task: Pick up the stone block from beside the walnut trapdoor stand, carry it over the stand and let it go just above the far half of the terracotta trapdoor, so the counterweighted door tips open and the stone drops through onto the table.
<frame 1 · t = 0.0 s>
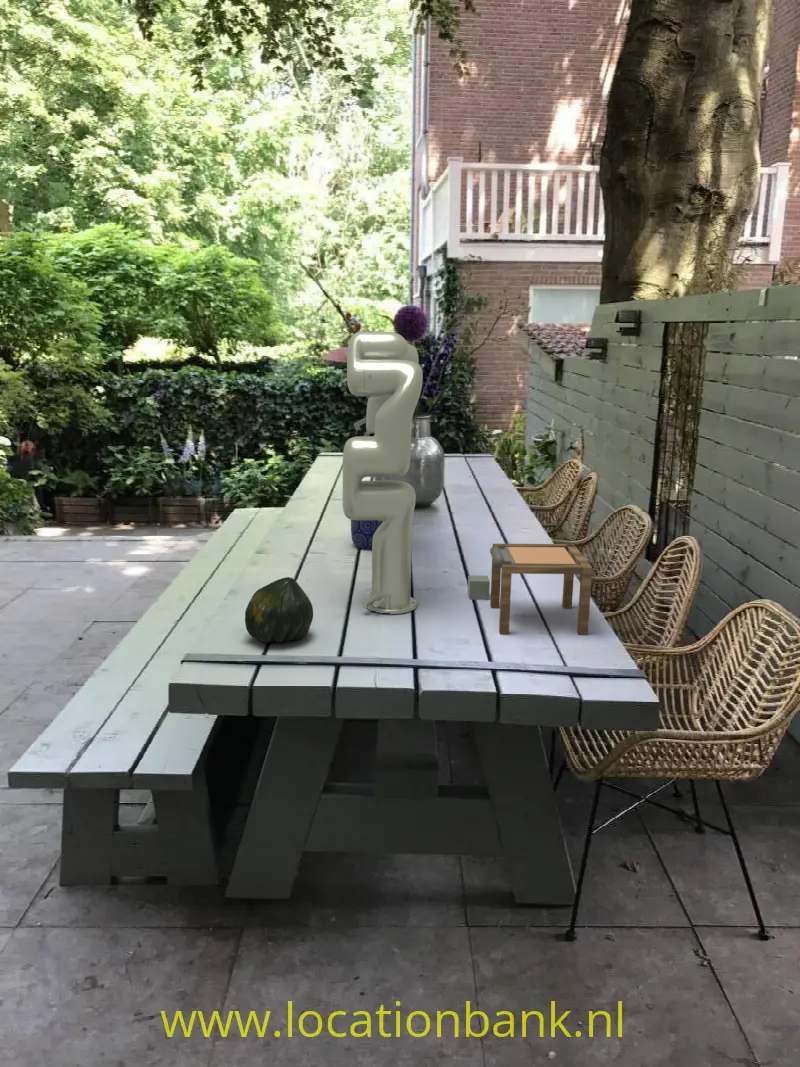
hand: (383, 452, 250), 31 cm above the table, tool pointing down, fingers open, 9 cm apart
trapdoor: (531, 557, 203), point 16 cm above the table, hinge at 0.0°
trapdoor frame: (536, 619, 207), on the table
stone: (478, 596, 223), on the table
squash: (280, 638, 194), on the table
planter: (368, 547, 268), on the table
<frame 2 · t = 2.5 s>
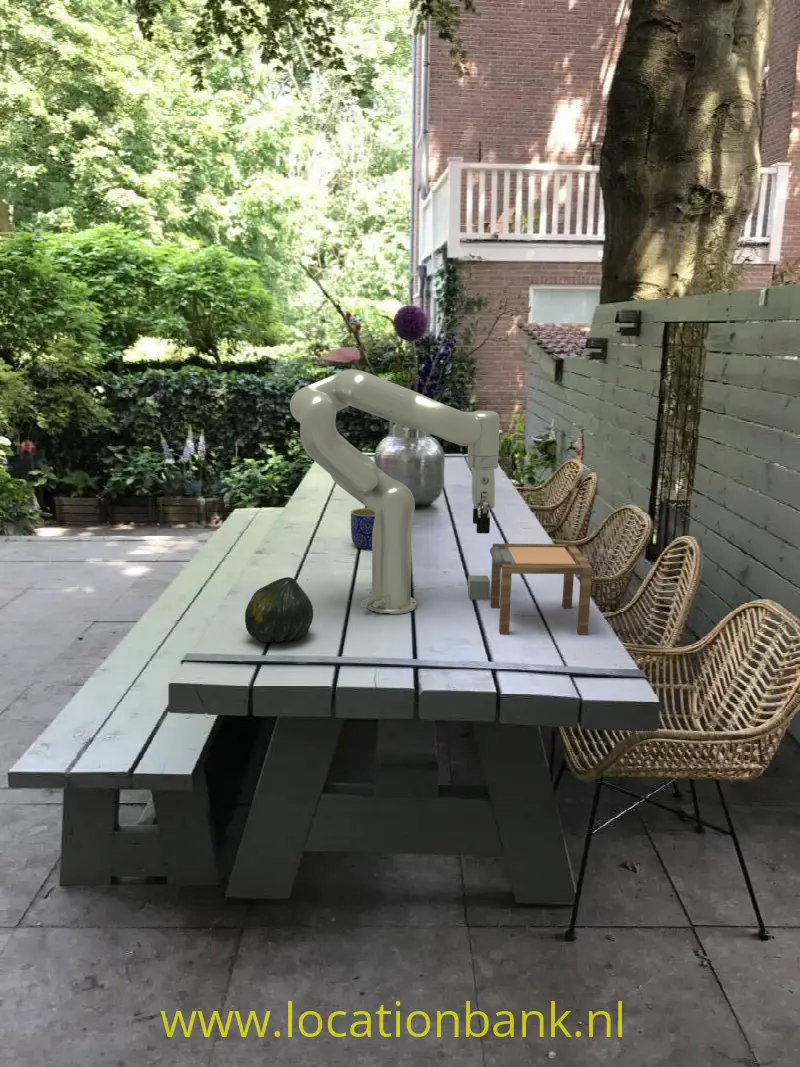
hand: (480, 528, 218), 18 cm above the table, tool pointing down, fingers open, 9 cm apart
nothing on the table moved.
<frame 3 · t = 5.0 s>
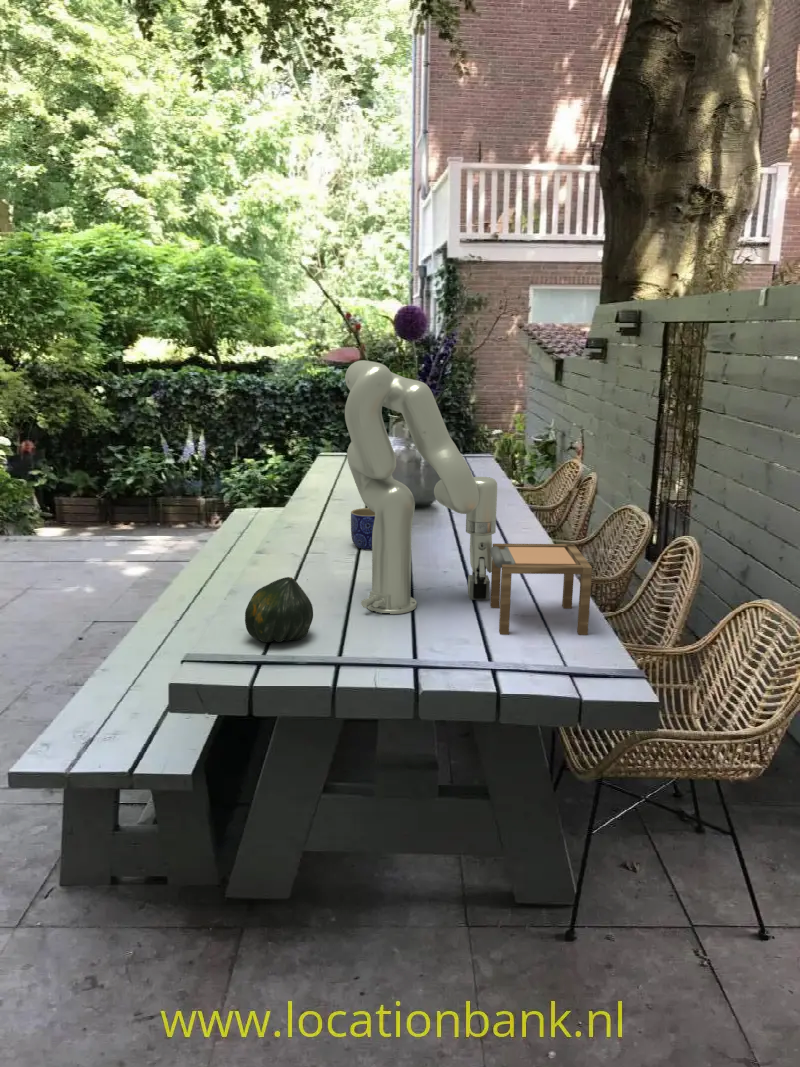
hand: (478, 593, 223), 1 cm above the table, tool pointing down, fingers closed on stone, 5 cm apart
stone: (478, 596, 223), on the table, touching gripper
everything else where it was.
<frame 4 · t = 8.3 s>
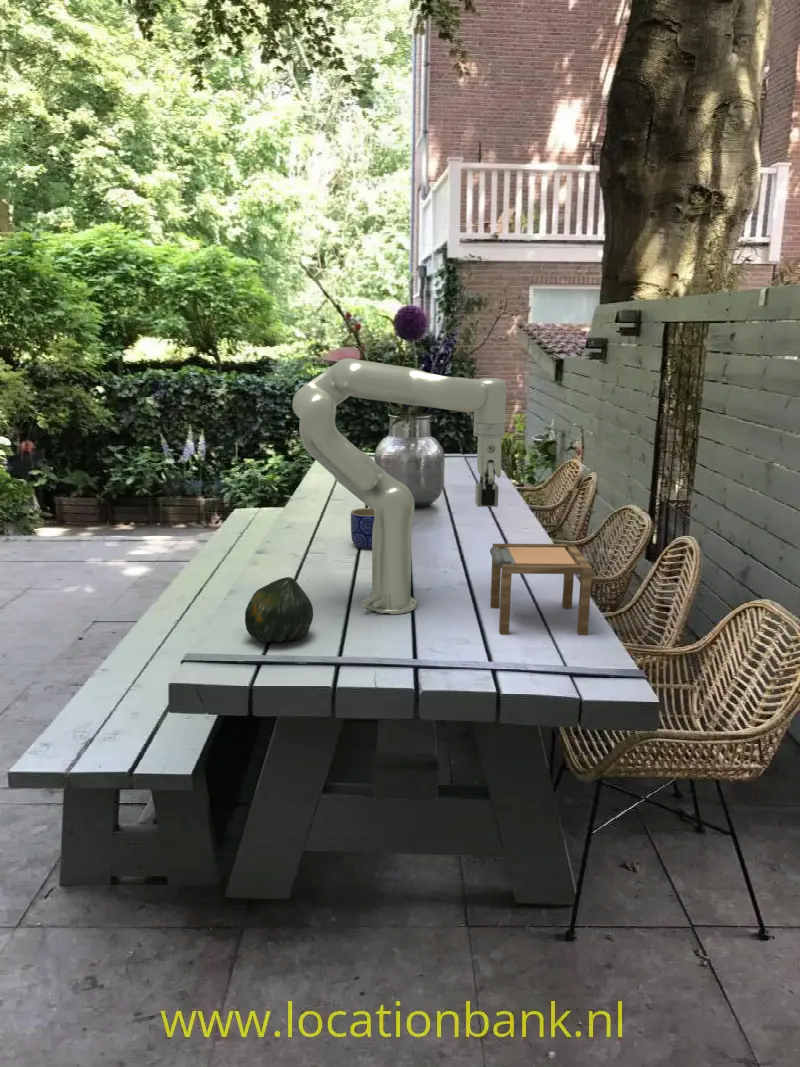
hand: (486, 501, 215), 25 cm above the table, tool pointing down, fingers closed on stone, 5 cm apart
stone: (486, 504, 216), point 25 cm above the table, touching gripper
everything else where it was.
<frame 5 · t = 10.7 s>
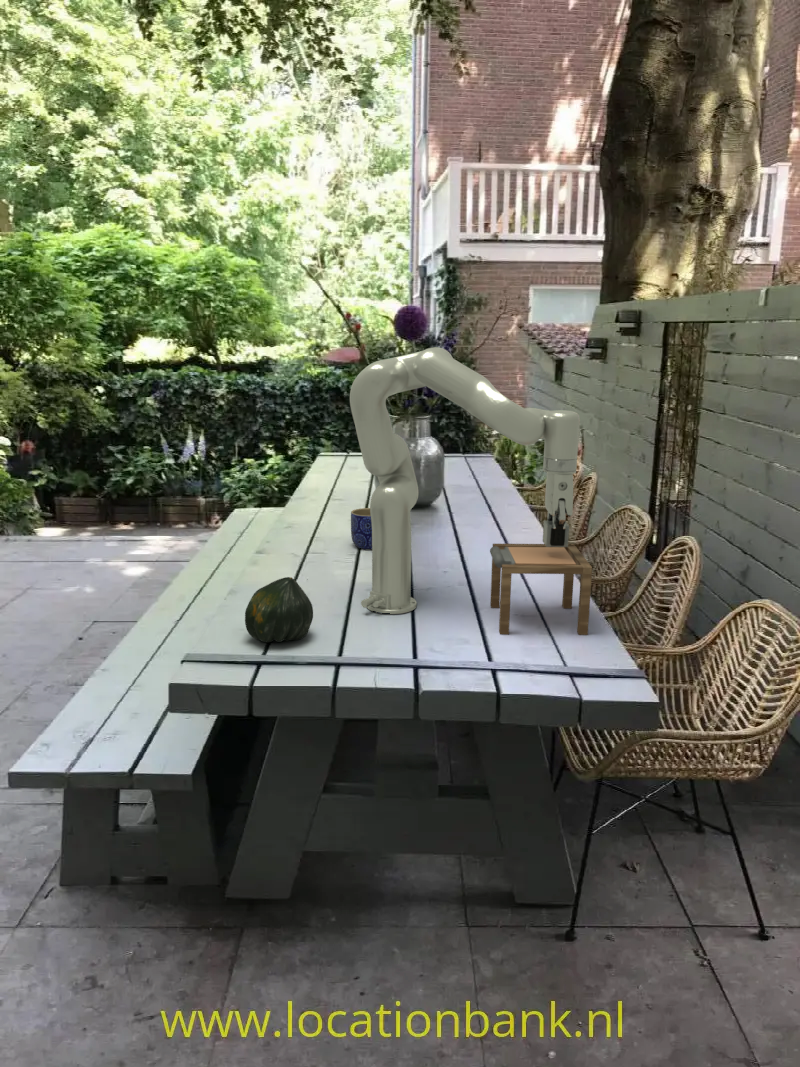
hand: (554, 541, 202), 19 cm above the table, tool pointing down, fingers closed on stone, 5 cm apart
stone: (555, 544, 202), point 19 cm above the table, touching gripper
everything else where it was.
when the fingers open (19 cm above the table, at t = 11.7 s): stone drops 16 cm and tips over, point 2 cm above the table.
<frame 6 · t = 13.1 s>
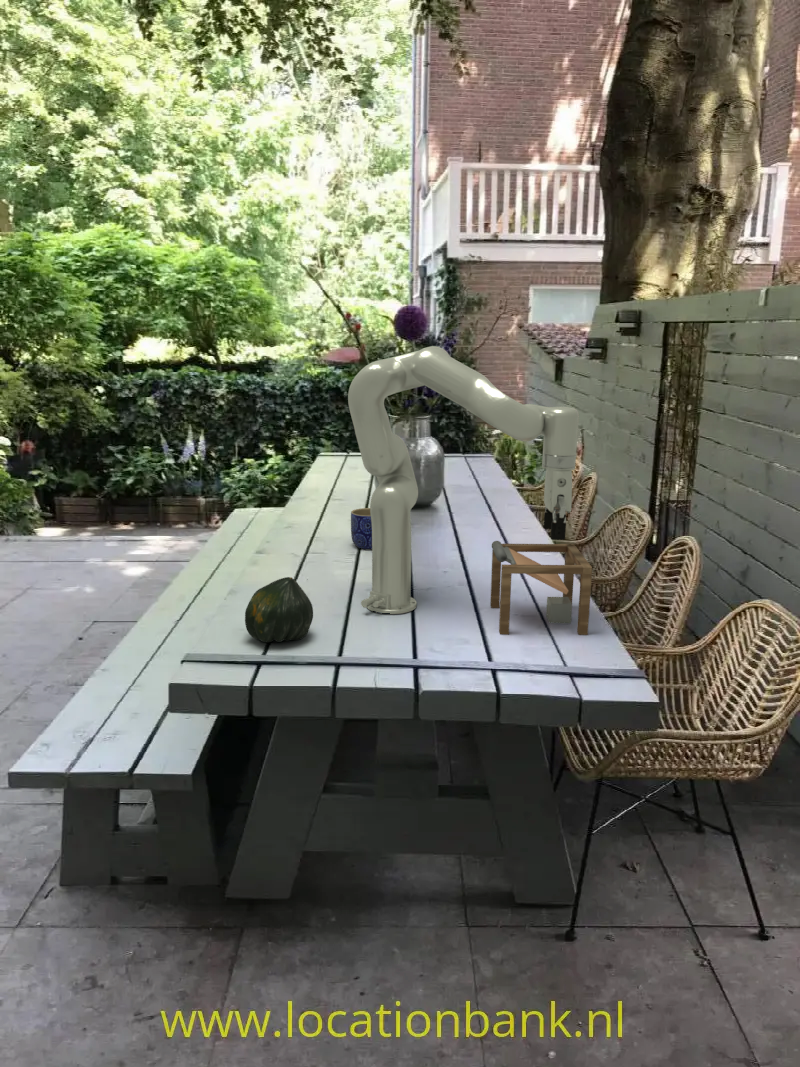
hand: (553, 534, 202), 21 cm above the table, tool pointing down, fingers open, 9 cm apart
trapdoor: (528, 566, 203), point 13 cm above the table, hinge at -27.2°
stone: (548, 610, 206), point 2 cm above the table, tilted 90°
everything else where it was.
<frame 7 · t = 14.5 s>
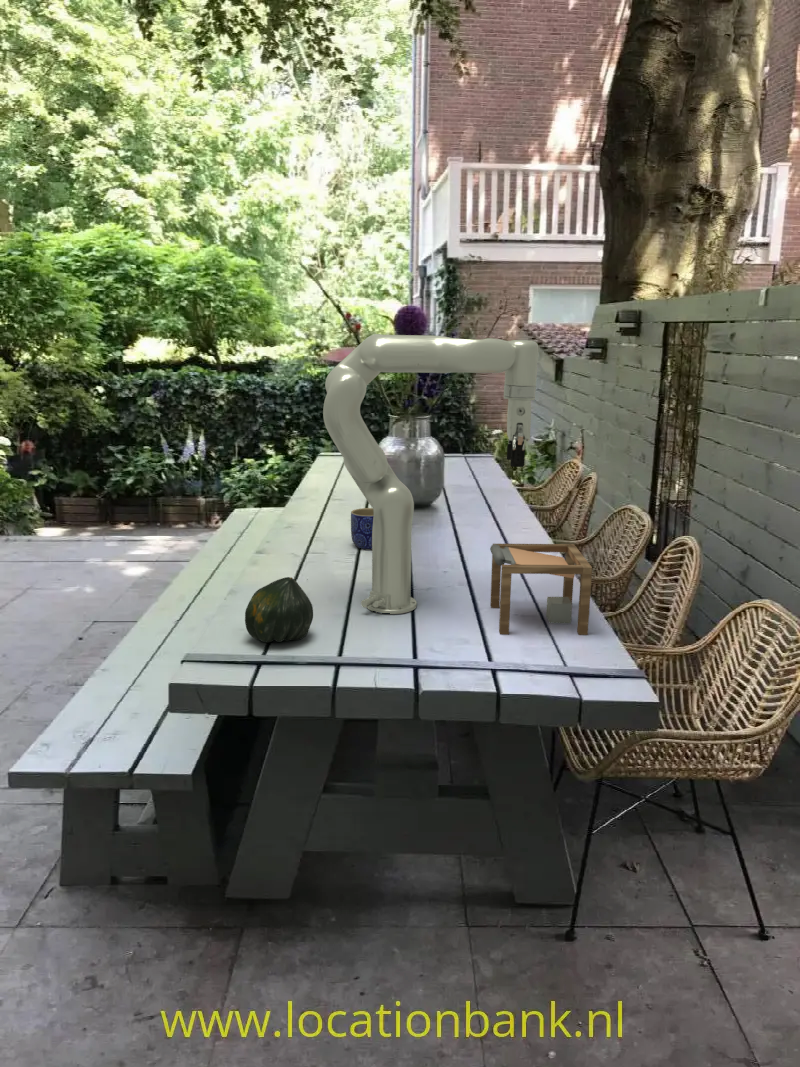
hand: (515, 463, 212), 35 cm above the table, tool pointing down, fingers open, 9 cm apart
trapdoor: (530, 560, 203), point 15 cm above the table, hinge at -10.3°
everything else where it was.
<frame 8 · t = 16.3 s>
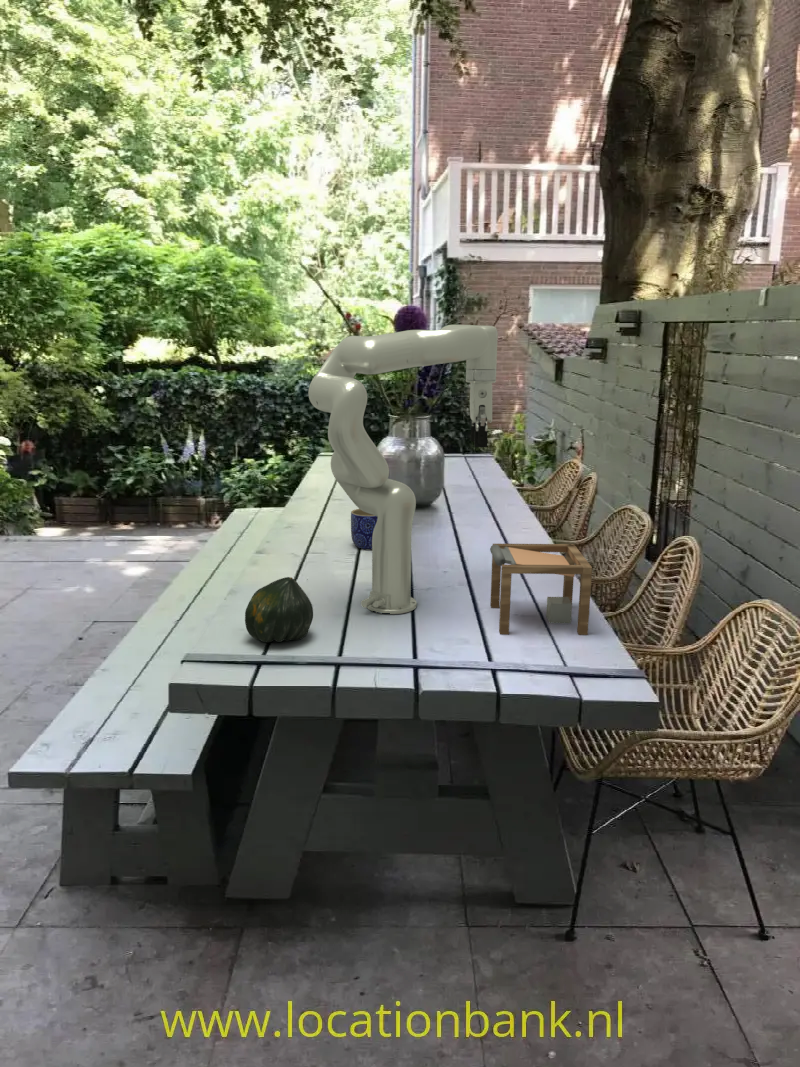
hand: (478, 444, 221), 38 cm above the table, tool pointing down, fingers open, 9 cm apart
trapdoor: (530, 560, 203), point 15 cm above the table, hinge at -8.7°
everything else where it was.
at the end: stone point 2.4 cm above the table; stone inside the target area on the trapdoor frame (2.7 cm from its centre), point 2.4 cm above the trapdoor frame's base; the gripper is holding nothing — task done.
